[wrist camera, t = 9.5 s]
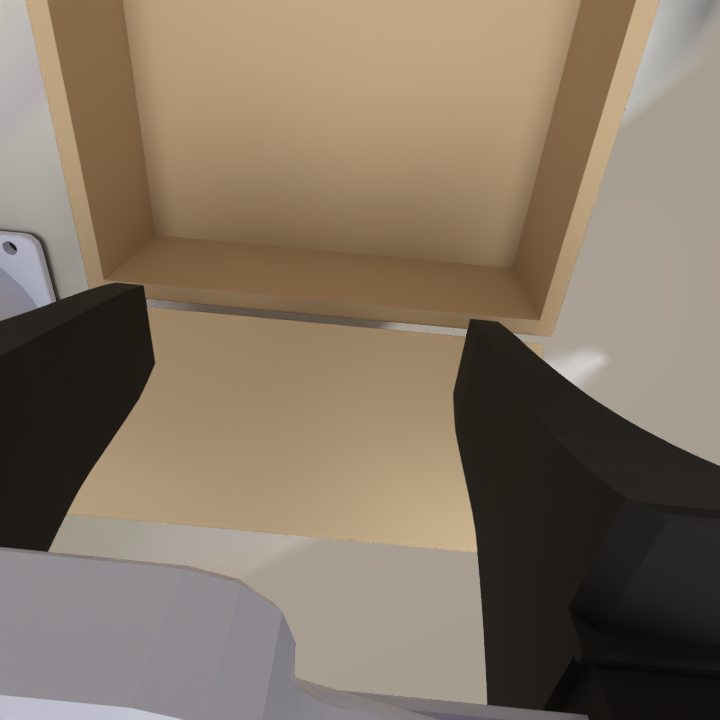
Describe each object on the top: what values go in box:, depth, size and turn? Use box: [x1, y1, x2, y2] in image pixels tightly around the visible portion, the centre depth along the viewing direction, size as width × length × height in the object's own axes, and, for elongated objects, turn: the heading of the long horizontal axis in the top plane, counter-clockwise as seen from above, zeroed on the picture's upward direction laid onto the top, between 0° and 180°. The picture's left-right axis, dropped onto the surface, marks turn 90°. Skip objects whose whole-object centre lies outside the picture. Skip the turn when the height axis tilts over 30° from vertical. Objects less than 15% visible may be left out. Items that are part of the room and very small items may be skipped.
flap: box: [67, 307, 543, 552], centre depth 15 cm, size 13×6×1 cm
